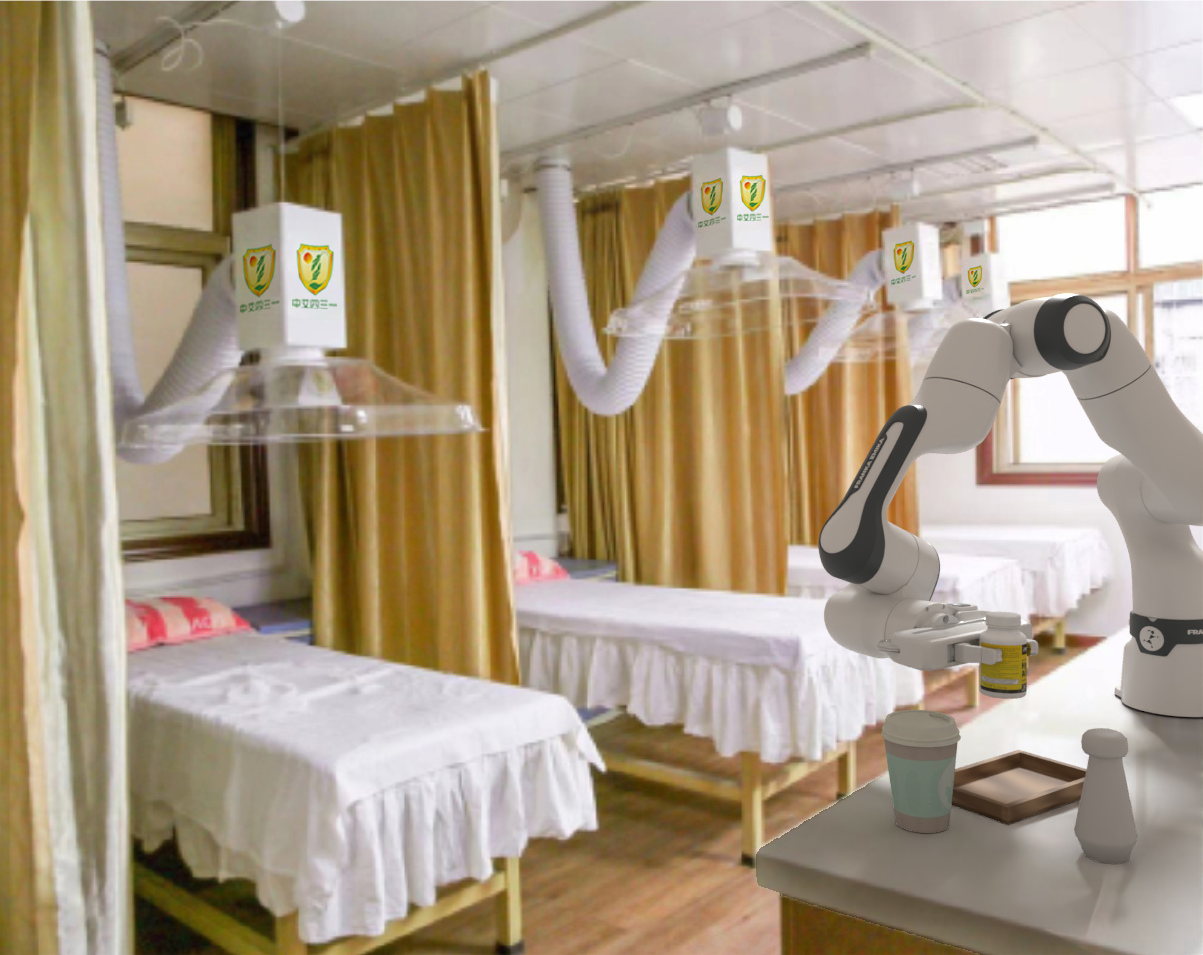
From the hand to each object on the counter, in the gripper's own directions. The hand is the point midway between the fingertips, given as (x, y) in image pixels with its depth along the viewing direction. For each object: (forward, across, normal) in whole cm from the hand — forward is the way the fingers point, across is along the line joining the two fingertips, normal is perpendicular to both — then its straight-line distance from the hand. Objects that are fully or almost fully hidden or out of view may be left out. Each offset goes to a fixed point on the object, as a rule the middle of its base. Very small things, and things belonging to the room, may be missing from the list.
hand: (1016, 653), depth 125 cm
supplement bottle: (-2, 0, +6) cm, 6 cm away
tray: (0, 0, +17) cm, 17 cm away
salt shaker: (+16, -8, +17) cm, 25 cm away
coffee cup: (0, -16, +17) cm, 24 cm away
